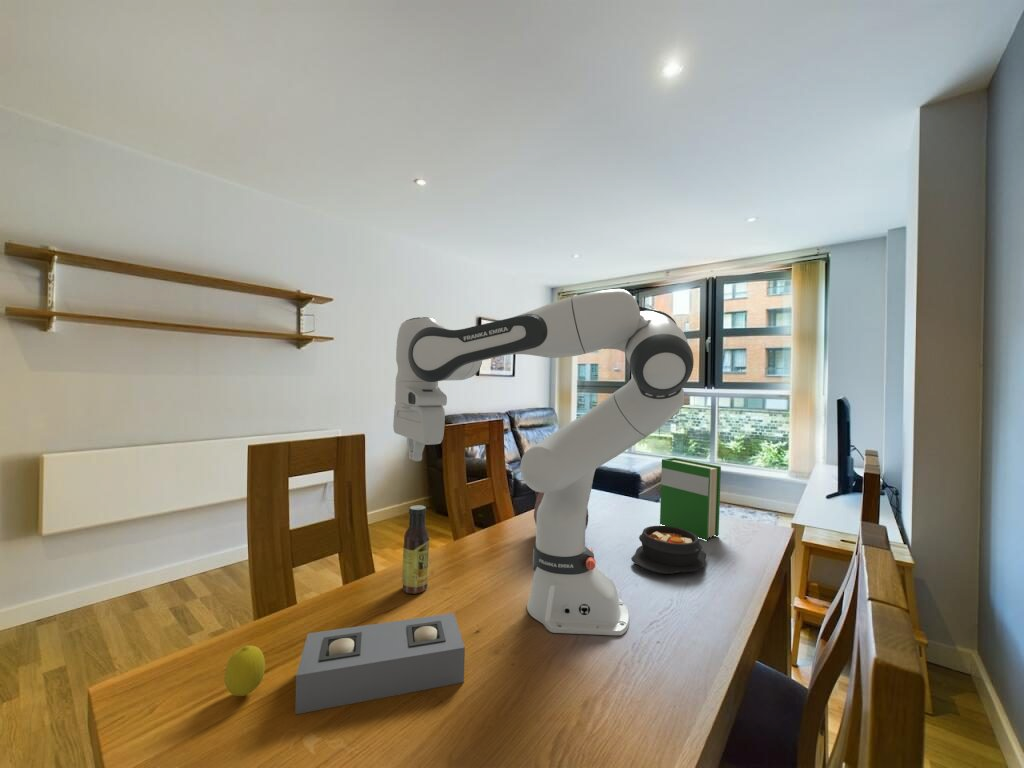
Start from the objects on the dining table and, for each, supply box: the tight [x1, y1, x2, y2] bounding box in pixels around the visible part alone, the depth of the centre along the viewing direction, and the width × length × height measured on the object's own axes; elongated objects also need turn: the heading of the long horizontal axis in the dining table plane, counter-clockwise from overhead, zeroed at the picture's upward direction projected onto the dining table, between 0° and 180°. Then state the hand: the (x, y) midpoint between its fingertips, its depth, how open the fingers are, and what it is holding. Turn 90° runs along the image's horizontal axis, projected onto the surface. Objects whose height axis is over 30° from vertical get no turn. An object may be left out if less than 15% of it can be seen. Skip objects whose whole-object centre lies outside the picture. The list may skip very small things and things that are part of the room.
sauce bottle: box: [401, 504, 431, 595], centre depth 104 cm, size 6×6×20 cm
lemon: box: [224, 644, 266, 697], centre depth 69 cm, size 6×6×8 cm
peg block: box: [295, 612, 466, 715], centre depth 74 cm, size 26×11×6 cm, turn 107°
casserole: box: [630, 525, 707, 575], centre depth 122 cm, size 25×19×8 cm
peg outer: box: [329, 638, 354, 656], centre depth 72 cm, size 4×4×6 cm
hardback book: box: [659, 457, 722, 541], centre depth 148 cm, size 18×7×24 cm, turn 36°
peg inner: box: [414, 626, 437, 642], centre depth 76 cm, size 4×4×6 cm
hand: (415, 459), depth 91 cm, fingers closed
